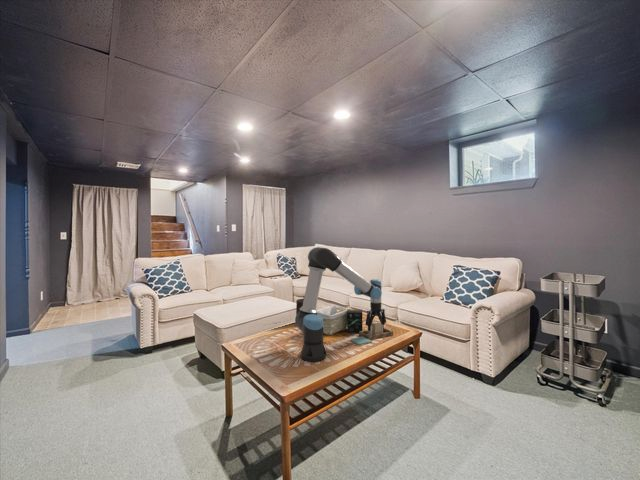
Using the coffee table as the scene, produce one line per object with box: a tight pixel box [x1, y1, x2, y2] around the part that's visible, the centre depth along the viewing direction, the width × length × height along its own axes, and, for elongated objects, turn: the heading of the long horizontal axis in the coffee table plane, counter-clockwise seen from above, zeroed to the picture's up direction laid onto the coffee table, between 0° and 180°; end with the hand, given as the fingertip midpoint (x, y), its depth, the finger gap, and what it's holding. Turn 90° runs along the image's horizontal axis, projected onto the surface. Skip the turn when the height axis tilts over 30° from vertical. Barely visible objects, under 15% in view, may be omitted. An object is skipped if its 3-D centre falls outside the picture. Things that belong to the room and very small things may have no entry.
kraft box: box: [371, 321, 381, 335], centre depth 203 cm, size 5×5×8 cm
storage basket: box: [316, 304, 348, 336], centre depth 215 cm, size 24×16×15 cm
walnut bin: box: [358, 327, 394, 341], centre depth 203 cm, size 21×11×2 cm, turn 117°
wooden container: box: [295, 295, 305, 316], centre depth 234 cm, size 15×15×22 cm
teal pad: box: [350, 336, 373, 346], centre depth 191 cm, size 10×10×1 cm
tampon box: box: [346, 308, 363, 334], centre depth 213 cm, size 11×9×15 cm
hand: (375, 334), depth 203 cm, fingers open, 9 cm apart
